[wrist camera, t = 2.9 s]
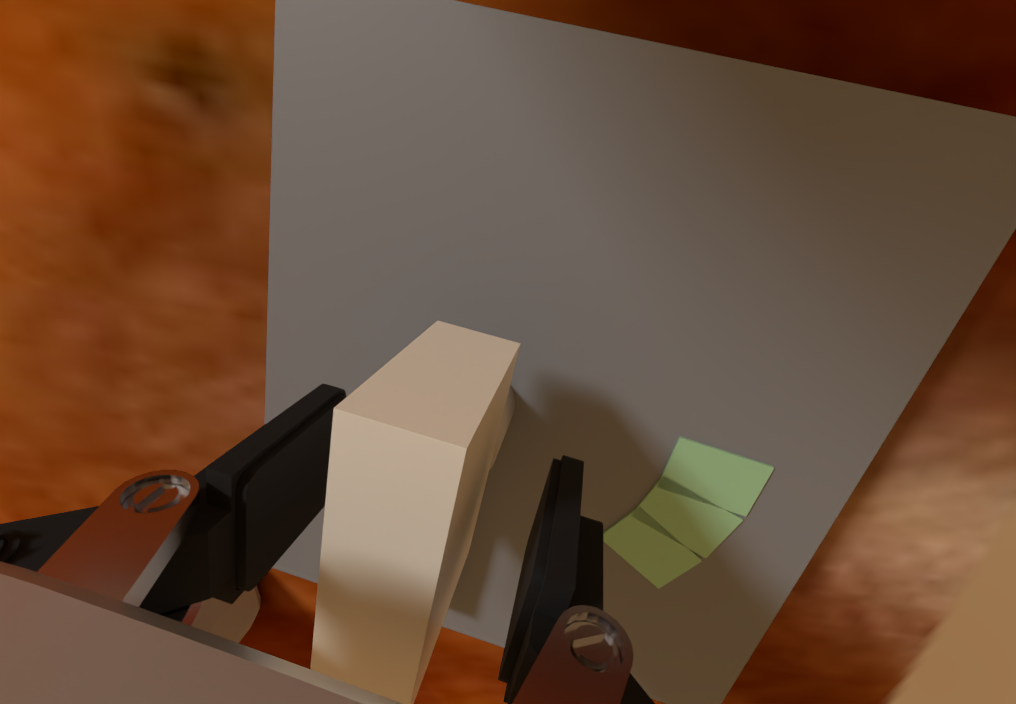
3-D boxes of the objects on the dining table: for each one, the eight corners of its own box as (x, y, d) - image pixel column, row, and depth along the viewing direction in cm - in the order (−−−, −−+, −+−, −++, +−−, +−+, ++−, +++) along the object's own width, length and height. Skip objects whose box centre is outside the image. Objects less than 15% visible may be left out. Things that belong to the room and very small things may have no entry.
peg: (465, 293, 15) (327, 406, 7) (539, 313, 15) (473, 450, 7) (411, 579, 19) (293, 824, 12) (465, 598, 19) (380, 859, 12)
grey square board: (327, -3, 15) (273, -38, 13) (992, 138, 13) (1081, 128, 11) (295, 525, 23) (259, 565, 21) (699, 660, 21) (712, 721, 19)
